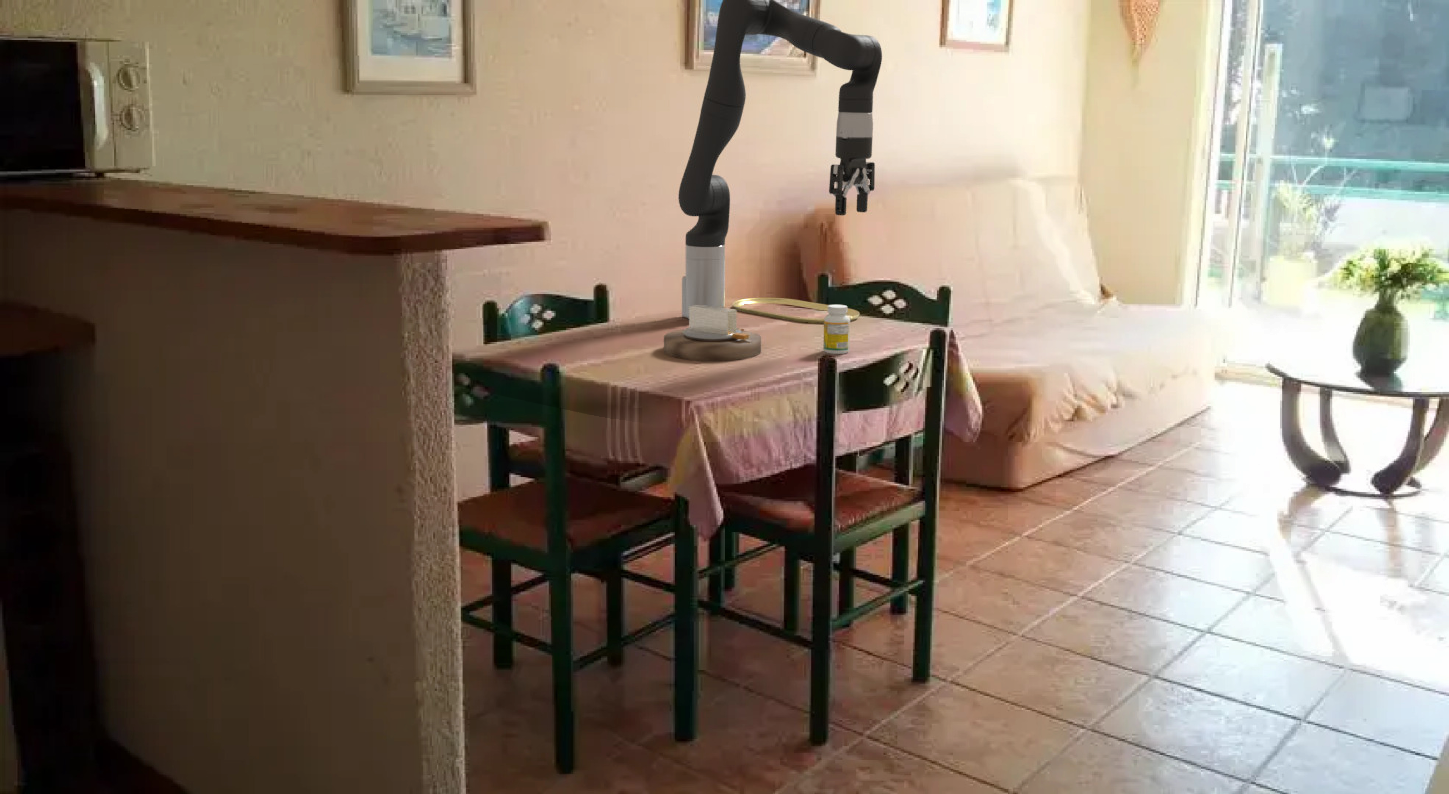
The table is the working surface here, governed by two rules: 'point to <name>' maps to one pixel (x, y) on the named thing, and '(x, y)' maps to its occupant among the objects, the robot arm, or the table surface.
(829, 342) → the supplement bottle
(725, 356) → the base
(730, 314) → the butter block on plate
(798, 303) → the gold oval frame
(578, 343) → the table surface
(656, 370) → the table surface
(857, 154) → the robot arm
